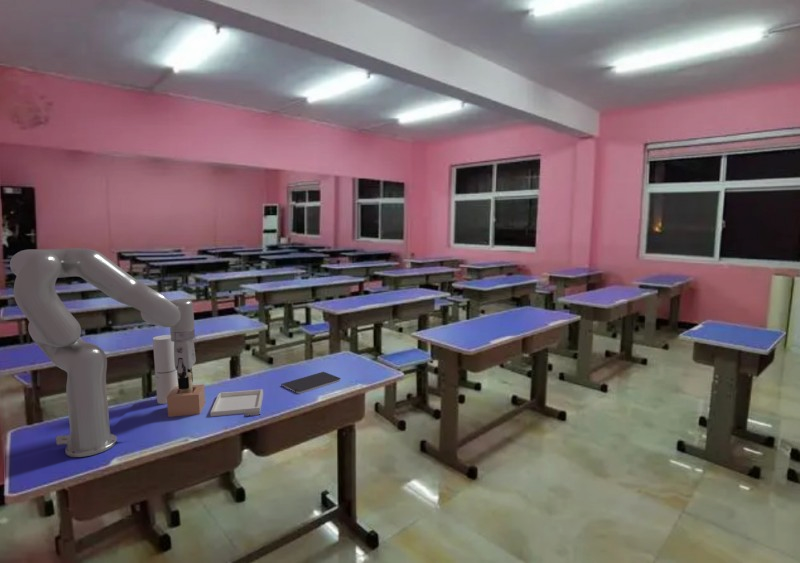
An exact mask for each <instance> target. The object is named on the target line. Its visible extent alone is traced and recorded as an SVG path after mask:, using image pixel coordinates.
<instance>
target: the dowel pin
mask: <svg viewBox="0 0 800 563" xmlns="http://www.w3.org/2000/svg"><path fill="white" fill-rule="evenodd" d="M191 372H192V371H190V372H187V377H189V388H188V389H180V394H183V393H193V388H192V385H193V382H192V375H193V372H192V373H191ZM184 373H185V372H184Z"/></svg>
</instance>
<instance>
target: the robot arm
mask: <svg viewBox="0 0 800 563" xmlns="http://www.w3.org/2000/svg"><path fill="white" fill-rule="evenodd" d="M9 267H10V270H11V272H12V273H13V274H14V275H15V276H16V277H15V280H14V285H13V297H14V300H15V303H16V304H17V307H18V309H19V310H20V311H21V313H22V314H23V315H24V316H25V318H26V319H27V321H29V322H28V324H27V325H28V326H27V327H28V328H27V329H28V333H29V335H30V337H31V339H32V340H33V342H34V343H35V344H36V345H37V346H38V347H39V349H40V350H41V351H42V352H43V353H44V355H45V356H46V357H47V358H48V360H50V361H51V362H52V364H53V365H54V366H56V367H57V368H59V369H61V370H62V371H64V372H66V374H67V375H66V376H67V378H66V379H67V380H66V388H65V389H66V391H65V392H66V402H67V410H68V412H67V414H68V422H69V423H68V424H69V432H70V433H69V434H68V435H67V434H66V435H65V434H64V435H57V436H56V437H55V443H56V446H64V445H66V447H65V451H64V452H65V455H67V456H68V457H71V458H85V457H90V456H96V455H98V454H101V453H103V452H105V451H107V450H109V449H111V448H113V447H114V446H116V444H117V443H118V441H117V440H118V437H117V436H116V434H113V433H111V427H110V426H111V425H110V413H109V402H108V401H109V400H108V392H107V368H108V359H107V358H108V357H107V355H106V352H105V351H104V350H103V349H102V348H101V347H100V346H98V345H96V344H94V343H91V342H88V341H85V340H84V339H83V338H82V337H81V334H82V328H81V325H80V323H79V321H78V320H77V319H76V317H75V316H73V314H72V313H71V311H70V310H69V309H68V308H67V306H66V305H65V304H64V303H63V301H62V300H61V298H60V296H59V295H58V294H57V292H56V282H57V280H58V278H59V279H60V278H70V277H79V278H81V279H82V280H84V281H86V282H87V283H89V285H91V286H94V288H96V289H97V290H99V291H101V292H102V293H104V294H105V295H107V296H108V297H109V298H111V299H112V300H114V301H116V302H117V303H120V304H123V305H125V306H128V307H132V308H133V309H135V310H138V311H140V316H141V319H142V320H143V321H144V322H146V323H147V324H149V325H154V326H159V327H163V328H169V330H170V332H169V333H170V334H169V335H171V341H172V342H174V363H175V369H176V370H177V378H178V386H179V389H188V388H189V377H187V372H191V373H192V383H193V382H194V378H193V366H194V365H195V364H196V360H197V358H196V351H195V350H196V349H195V342H194V340H195V339H196V335H195V334H196V333H195V314H194V303H193V301H192V300H191V299H186V298H184V299H183V298H181V299H174V300H171V301H170V300H169V299H168V298H167V297H166V296H164V295H163V294H162V293H160V292H158V291H157V290H155V289H153V288H151V287H150V286H148V285H146V284H145V283H143V282H142V281H140V280H139V279H136V278H135V277H133V276H132V275H131V274H129V273H128V272H127V271H126V270H124V269H123V268H121V267H120V266H119V265H117V264H116V263H115V262H113V261H112V260H111V259H109V257H106V256H105V255H104V254H103V253H101V252H99V251H97V250H95V249H92V248H83V247H82V248H79V247H75V248H47V249H46V248H43V249H40V248H38V249H37V248H35V249H29V248H28V249H24V250H20V251H18V252H17V253H15V254H14V255H13V256H11V259H10V261H9ZM184 372H185V373H184Z"/></svg>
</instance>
